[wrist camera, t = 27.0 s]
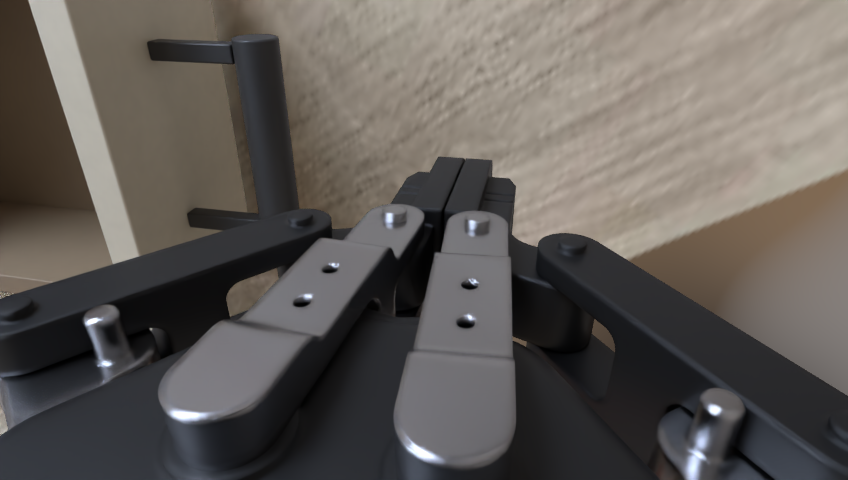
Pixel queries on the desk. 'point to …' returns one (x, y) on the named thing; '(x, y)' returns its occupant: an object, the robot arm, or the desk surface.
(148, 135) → the drawer
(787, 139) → the desk surface
